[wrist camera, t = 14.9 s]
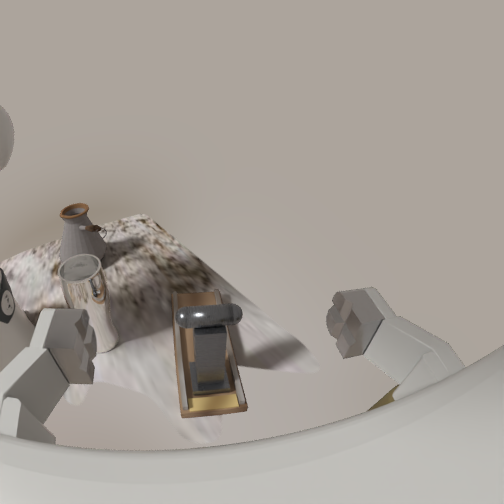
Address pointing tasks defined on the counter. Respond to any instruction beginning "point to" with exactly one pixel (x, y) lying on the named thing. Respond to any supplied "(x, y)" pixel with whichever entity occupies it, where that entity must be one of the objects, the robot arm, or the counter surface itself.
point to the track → (185, 354)
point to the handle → (209, 344)
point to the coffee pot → (80, 234)
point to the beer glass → (89, 296)
